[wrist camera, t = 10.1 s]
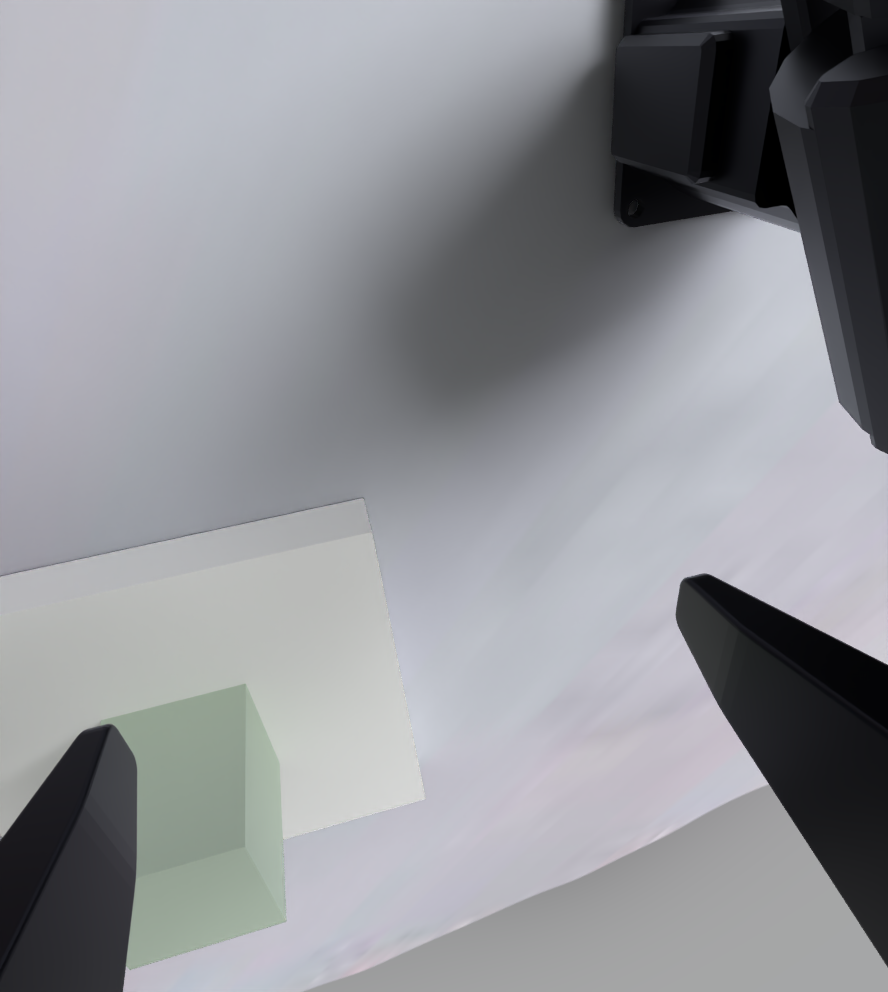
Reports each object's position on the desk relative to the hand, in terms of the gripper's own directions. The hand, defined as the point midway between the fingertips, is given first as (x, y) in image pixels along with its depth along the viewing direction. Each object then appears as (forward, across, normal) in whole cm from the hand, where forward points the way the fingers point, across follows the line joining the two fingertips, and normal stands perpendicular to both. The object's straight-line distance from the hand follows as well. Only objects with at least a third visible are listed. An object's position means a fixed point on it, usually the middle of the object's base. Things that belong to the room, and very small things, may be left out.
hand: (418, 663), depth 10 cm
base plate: (+12, +8, +13) cm, 19 cm away
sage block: (+10, +8, +13) cm, 18 cm away
